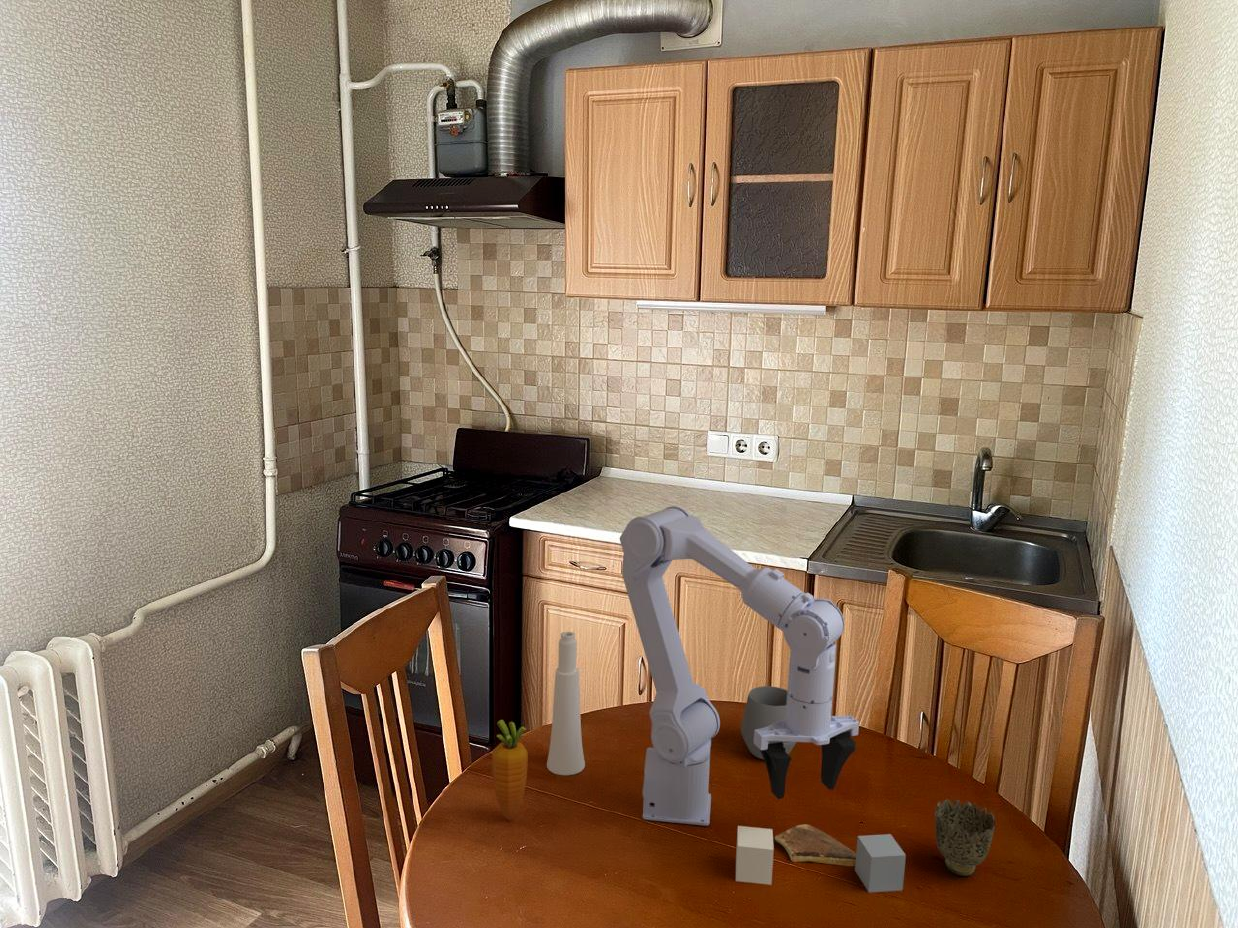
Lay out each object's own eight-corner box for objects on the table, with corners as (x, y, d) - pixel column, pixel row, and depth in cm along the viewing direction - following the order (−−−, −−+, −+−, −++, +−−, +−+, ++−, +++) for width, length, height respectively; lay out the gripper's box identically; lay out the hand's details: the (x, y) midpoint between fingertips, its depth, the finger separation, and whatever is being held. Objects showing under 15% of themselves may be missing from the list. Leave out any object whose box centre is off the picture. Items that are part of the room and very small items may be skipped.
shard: (868, 870, 118) (869, 858, 118) (830, 891, 114) (831, 879, 113) (806, 830, 127) (807, 819, 126) (768, 849, 122) (769, 837, 122)
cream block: (735, 881, 115) (737, 845, 114) (735, 859, 119) (737, 825, 118) (771, 884, 114) (773, 849, 113) (770, 863, 118) (772, 829, 118)
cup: (802, 768, 143) (806, 709, 141) (743, 766, 143) (746, 708, 141) (791, 739, 152) (795, 684, 150) (736, 737, 152) (739, 682, 150)
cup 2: (983, 894, 113) (990, 837, 112) (923, 874, 117) (929, 818, 115) (994, 864, 119) (1000, 809, 118) (937, 845, 123) (942, 792, 122)
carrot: (534, 820, 127) (535, 721, 124) (507, 834, 123) (507, 733, 120) (511, 806, 130) (512, 709, 127) (484, 819, 126) (484, 721, 124)
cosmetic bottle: (574, 752, 146) (576, 624, 142) (591, 770, 141) (594, 637, 137) (540, 761, 143) (541, 630, 139) (557, 779, 138) (558, 643, 134)
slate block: (868, 892, 113) (871, 857, 112) (854, 870, 117) (857, 835, 117) (902, 890, 114) (905, 854, 113) (887, 868, 118) (890, 833, 117)
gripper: (775, 714, 110) (768, 815, 112) (875, 700, 115) (867, 797, 117) (748, 690, 116) (742, 786, 119) (844, 678, 121) (837, 770, 124)
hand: (802, 790), depth 118 cm, fingers open, 7 cm apart
